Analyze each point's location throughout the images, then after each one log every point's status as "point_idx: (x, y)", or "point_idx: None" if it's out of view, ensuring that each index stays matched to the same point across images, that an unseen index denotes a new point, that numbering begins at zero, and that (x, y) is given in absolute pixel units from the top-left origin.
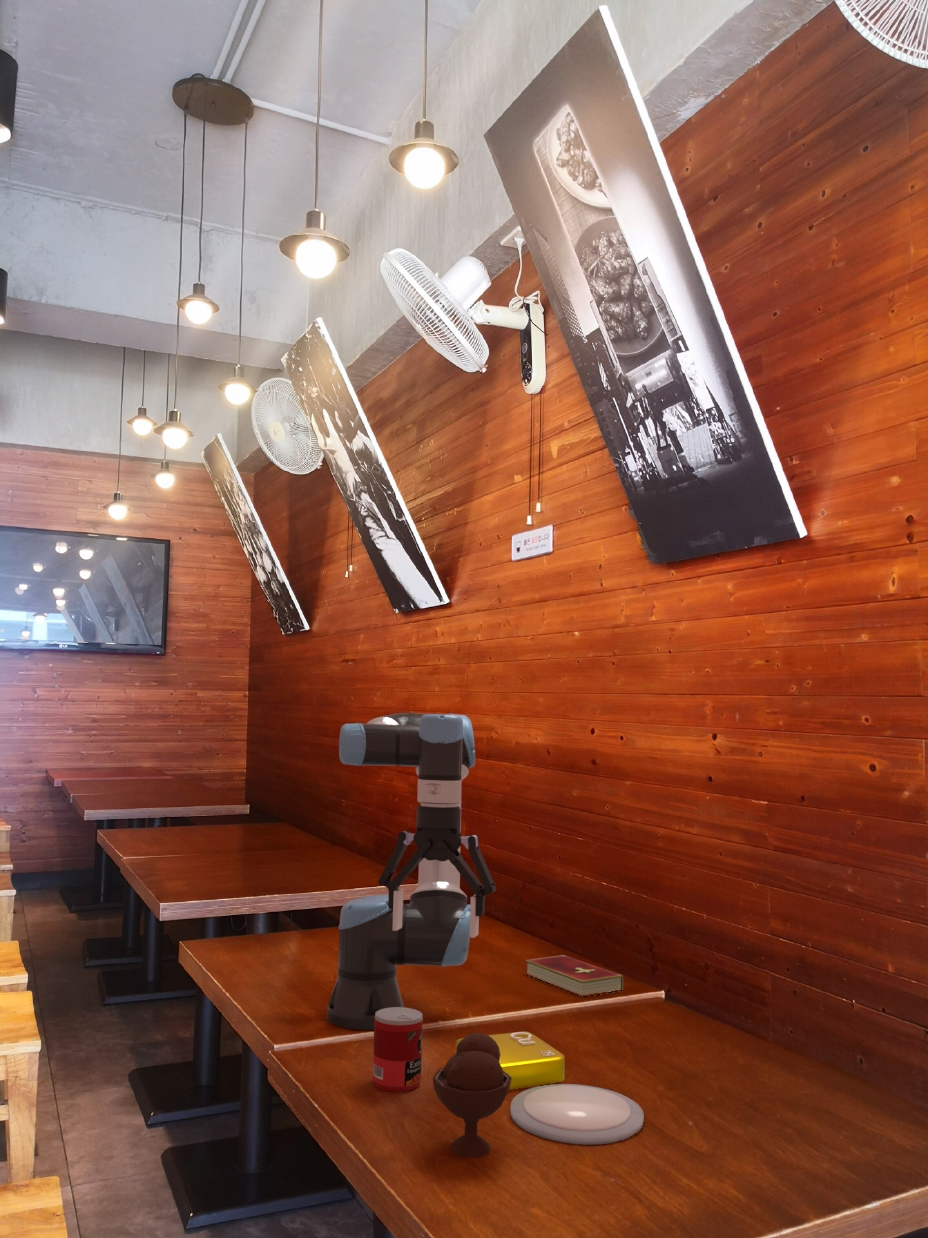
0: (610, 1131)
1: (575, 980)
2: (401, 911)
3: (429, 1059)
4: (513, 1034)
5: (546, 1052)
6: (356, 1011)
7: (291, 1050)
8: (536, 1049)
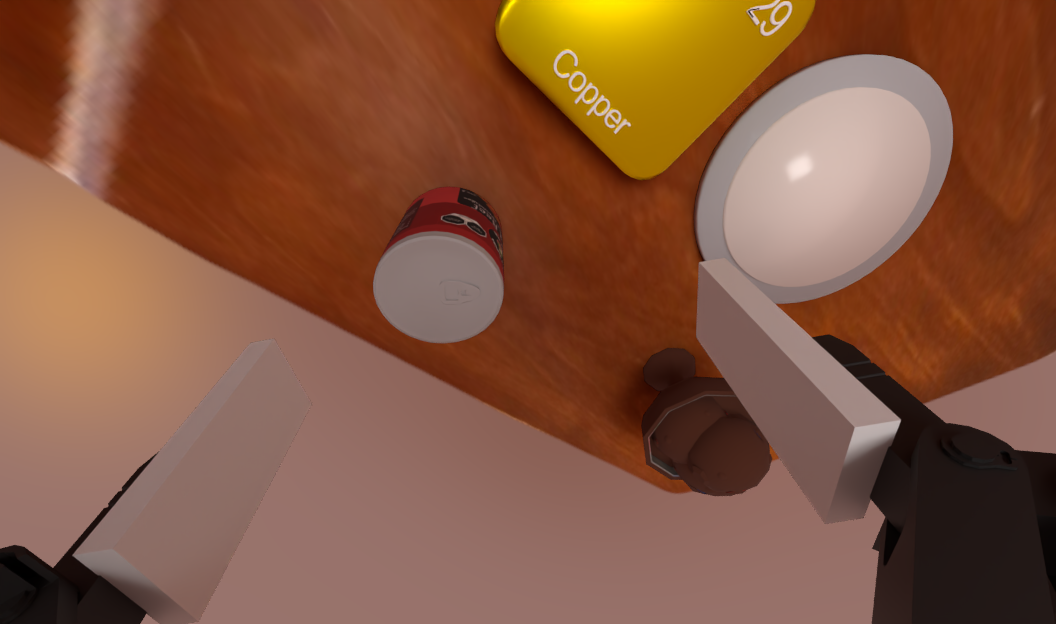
0: (876, 255)
1: None
2: (236, 421)
3: (425, 47)
4: None
5: (769, 7)
6: None
7: (123, 180)
8: None
